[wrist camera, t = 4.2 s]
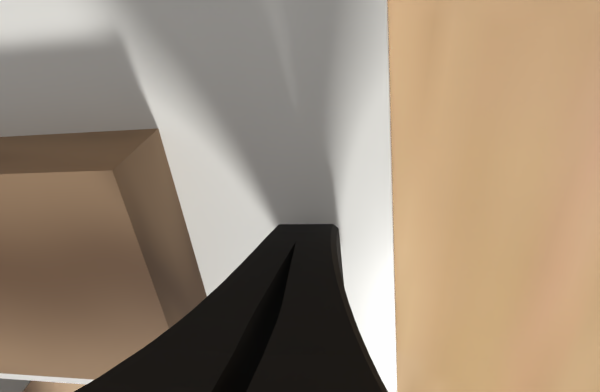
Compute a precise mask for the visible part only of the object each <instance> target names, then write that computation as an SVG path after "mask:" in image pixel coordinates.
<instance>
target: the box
mask: <svg viewBox="0 0 600 392" xmlns="http://www.w3.org/2000/svg"><path fill="white" fill-rule="evenodd" d="M30 381H31V380H16V379H2V378H0V392H23V390H24V389H25V388H26V387H27V385H28V384H29V383H30Z"/></svg>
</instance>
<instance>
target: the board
mask: <svg viewBox="0 0 600 392" xmlns="http://www.w3.org/2000/svg"><path fill="white" fill-rule="evenodd" d="M139 129H159V132H160V136H161V139H162V143H163V146H164V150H165V153H166V157H167V160H168V164H169V167H170V170H171V174H172V177H173V181H174V184H175V188H176V191H177V195H178V198H179V202H180V205H181V209H182V212H183V215H184V219H185V222H186V226H187V229H188V233H189V236H190V240H191V243H192V247H193V250H194V254H195V257H196V260H197V264H198V267H199V271H200V274H201V278H202V281H203V285H204V288H205V292H206V295H207V296H208V295H209V294H210V293H211V292H213V291H214V290H215V289H216V288H217V287H218V286H219V285H220V284H221V283H222V282H223V281H224V280H225V279H226V278H227V277H228V276H229V275H230V274H231V273H232V272H233V271H234V270H235V269H236V268H237V267H238V266H239V265H240V264H241V263H242V262H243V261H244V260H245V259H246V258H247V257H248V256H249V255H250V254H251V253H252V252H253V251H254V250H255V249H256V248H257V246H258V245H259V244H260V243H261V242H262V241H263V240H264V239H265V238H266V237H267V236H268V235H269V234H270V233H271V232H272V231H273V230H274V229H275V228H276V227H277V226H278V225H279V224H334V225H335V226H336V227H338V228H339V236H340V247H341V258H342V269H343V279H344V288H345V292H346V295H347V298H348V301H349V304H350V307H351V310H352V313H353V316H354V319H355V321H356V324H357V326H358V329H359V332H360V334H361V336H362V339H363V341H364V343H365V346H366V348H367V350H368V352H369V355H370V357H371V359H372V361H373V363H374V365H375V367H376V369H377V371H378V374H379V376H380V378H381V380H382V382H383V383H384V385H385V387H386V389H387V391H388V392H397V351H396V311H395V271H394V231H393V191H392V151H391V111H390V70H389V30H388V0H0V137H9V136H28V135H46V134H65V133H83V132H102V131H121V130H139ZM0 378H2V379H16V380H31V381H45V382H59V383H74V384H88V383H90V382H92V381H93V379H78V378H63V377H48V376H33V375H18V374H3V373H0Z"/></svg>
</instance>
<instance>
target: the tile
mask: <svg viewBox="0 0 600 392" xmlns="http://www.w3.org/2000/svg"><path fill="white" fill-rule="evenodd" d="M206 297H207V295H206V292H205V288H204V285H203V281H202V278H201V274H200V271H199V267H198V264H197V260H196V257H195V254H194V250H193V247H192V243H191V240H190V236H189V233H188V229H187V226H186V222H185V219H184V215H183V212H182V209H181V205H180V202H179V198H178V195H177V191H176V188H175V184H174V181H173V177H172V174H171V170H170V167H169V164H168V160H167V157H166V153H165V150H164V146H163V143H162V139H161V136H160V132H159V129H139V130H121V131H102V132H83V133H65V134H46V135H28V136H9V137H0V373H3V374H18V375H33V376H48V377H63V378H78V379H93V380H95V379H96V378H98V377H100V376H101V375H103V374H104V373H106V372H107V371H109V370H110V369H112V368H113V367H115V366H116V365H118V364H119V363H121V362H122V361H124V360H125V359H127V358H129V357H130V356H132V355H133V354H135V353H136V352H138V351H139V350H141V349H142V348H144V347H145V346H146V345H148V344H149V343H151V342H152V341H153V340H155V339H156V338H157V337H159V336H160V335H161V334H163V333H164V332H165V331H167V330H168V329H169V328H171V327H172V326H173V325H174V324H176V323H177V322H178V321H179V320H181V319H182V318H183V317H184V316H186V315H187V314H188V313H189V312H190V311H192V310H193V309H194V308H195V307H196V306H197V305H198V304H199V303H201V302H202V301H203V300H204V299H205V298H206Z"/></svg>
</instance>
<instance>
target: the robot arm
mask: <svg viewBox="0 0 600 392" xmlns="http://www.w3.org/2000/svg"><path fill="white" fill-rule="evenodd" d="M75 392H388V391H387V389H386V387H385V385H384V383H383V382H382V380H381V378H380V376H379V374H378V371H377V369H376V367H375V365H374V363H373V361H372V359H371V357H370V355H369V352H368V350H367V348H366V346H365V343H364V341H363V339H362V336H361V334H360V332H359V329H358V326H357V324H356V321H355V319H354V316H353V313H352V310H351V307H350V304H349V301H348V298H347V295H346V292H345V288H344V279H343V269H342V258H341V247H340V236H339V228H338V227H336V226H335V225H334V224H279V225H278V226H277V227H276V228H275V229H274V230H273V231H272V232H271V233H270V234H269V235H268V236H267V237H266V238H265V239H264V240H263V241H262V242H261V243H260V244H259V245H258V246H257V248H256V249H255V250H254V251H253V252H252V253H251V254H250V255H249V256H248V257H247V258H246V259H245V260H244V261H243V262H242V263H241V264H240V265H239V266H238V267H237V268H236V269H235V270H234V271H233V272H232V273H231V274H230V275H229V276H228V277H227V278H226V279H225V280H224V281H223V282H222V283H221V284H220V285H219V286H218V287H217V288H216V289H215V290H214V291H213V292H211V293H210V294H209V295H208V296H207V297H206V298H205V299H204V300H203V301H202V302H201V303H199V304H198V305H197V306H196V307H195V308H194V309H193V310H192V311H190V312H189V313H188V314H187V315H186V316H184V317H183V318H182V319H181V320H179V321H178V322H177V323H176V324H174V325H173V326H172V327H171V328H169V329H168V330H167V331H165V332H164V333H163V334H161V335H160V336H159V337H157V338H156V339H155V340H153V341H152V342H151V343H149V344H148V345H146V346H145V347H144V348H142V349H141V350H139V351H138V352H136V353H135V354H133V355H132V356H130V357H129V358H127V359H125V360H124V361H122V362H121V363H119V364H118V365H116V366H115V367H113V368H112V369H110V370H109V371H107V372H106V373H104V374H103V375H101V376H100V377H98V378H96V379H95V380H93V381H92V382H90V383H88V384H86V385H85V386H83V387H81V388H80V389H78V390H76V391H75Z"/></svg>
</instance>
